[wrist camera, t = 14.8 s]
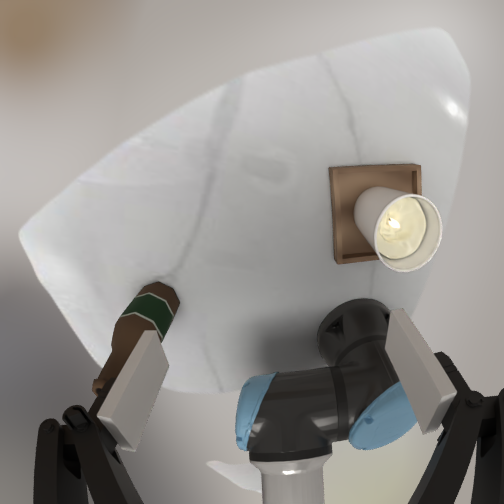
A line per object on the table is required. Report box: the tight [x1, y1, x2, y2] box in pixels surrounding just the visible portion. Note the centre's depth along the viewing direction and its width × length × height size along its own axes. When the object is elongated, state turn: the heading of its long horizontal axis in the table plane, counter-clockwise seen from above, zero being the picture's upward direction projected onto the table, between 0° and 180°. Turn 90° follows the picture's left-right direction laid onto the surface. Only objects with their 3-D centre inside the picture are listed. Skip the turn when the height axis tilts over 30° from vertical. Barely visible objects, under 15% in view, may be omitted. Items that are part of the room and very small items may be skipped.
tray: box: [329, 164, 422, 264], centre depth 42 cm, size 15×15×2 cm
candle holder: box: [353, 186, 442, 272], centre depth 36 cm, size 10×10×12 cm
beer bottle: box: [92, 282, 180, 397], centre depth 39 cm, size 8×8×24 cm
